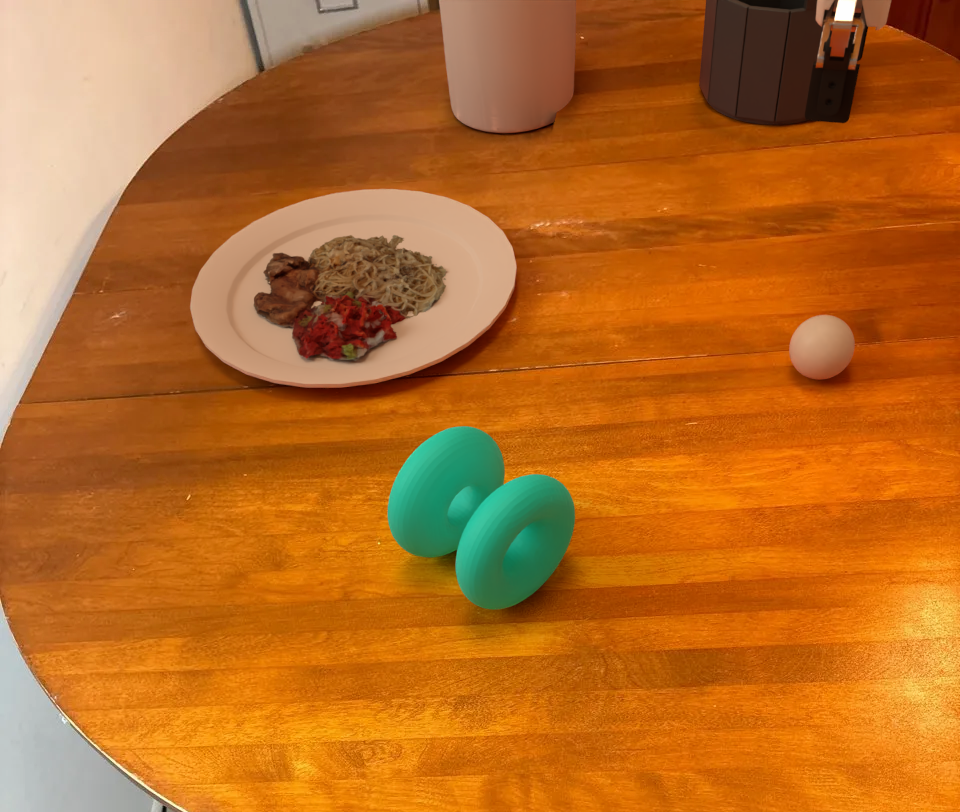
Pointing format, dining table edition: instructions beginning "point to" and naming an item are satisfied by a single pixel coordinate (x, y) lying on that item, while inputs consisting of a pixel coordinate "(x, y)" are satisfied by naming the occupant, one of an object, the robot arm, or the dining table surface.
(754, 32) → the bin
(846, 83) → the robot arm
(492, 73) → the utensil holder
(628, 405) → the dining table surface
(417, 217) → the plated food
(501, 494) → the teal spool
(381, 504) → the dining table surface
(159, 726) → the dining table surface
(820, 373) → the pale pink ball
